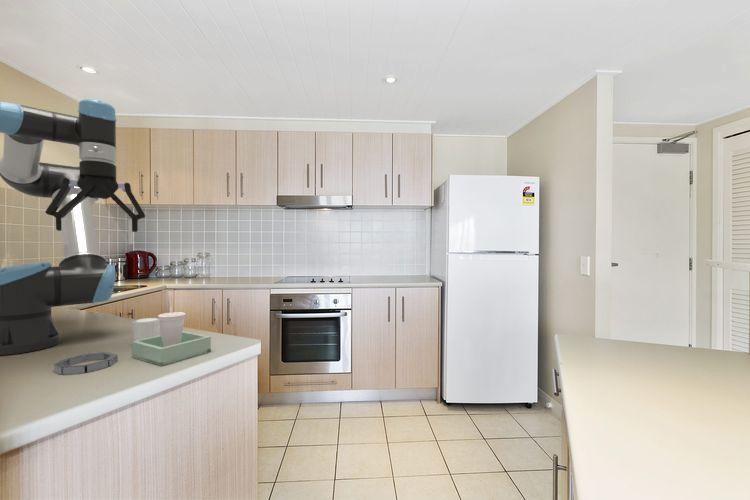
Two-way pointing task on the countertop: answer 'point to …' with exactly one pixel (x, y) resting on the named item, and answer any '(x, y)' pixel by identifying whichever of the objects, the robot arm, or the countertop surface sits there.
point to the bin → (170, 348)
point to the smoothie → (171, 326)
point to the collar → (65, 369)
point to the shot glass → (146, 328)
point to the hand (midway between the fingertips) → (99, 244)
